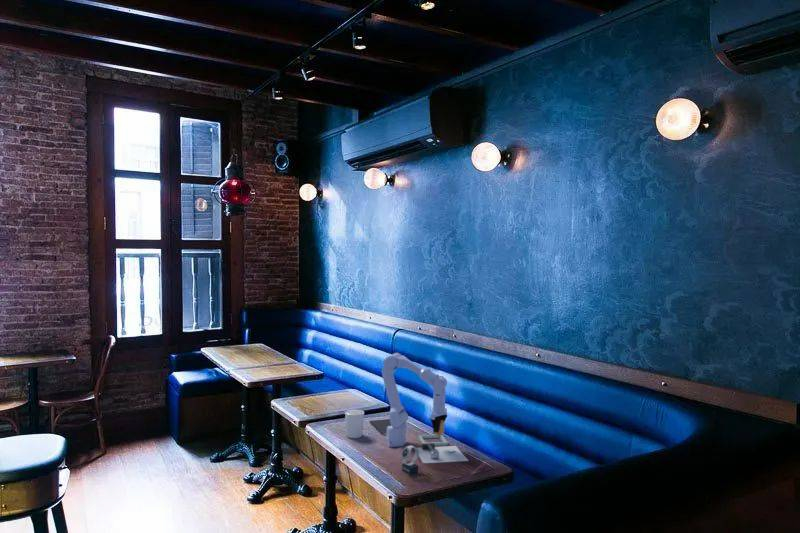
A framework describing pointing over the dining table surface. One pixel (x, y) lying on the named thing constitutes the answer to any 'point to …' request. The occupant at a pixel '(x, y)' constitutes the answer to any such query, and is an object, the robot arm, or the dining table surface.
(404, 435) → the robot arm
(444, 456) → the crank plate
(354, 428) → the candle holder
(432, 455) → the crank
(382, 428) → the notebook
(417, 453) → the watch
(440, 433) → the block
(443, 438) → the parts tray
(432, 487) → the dining table surface
